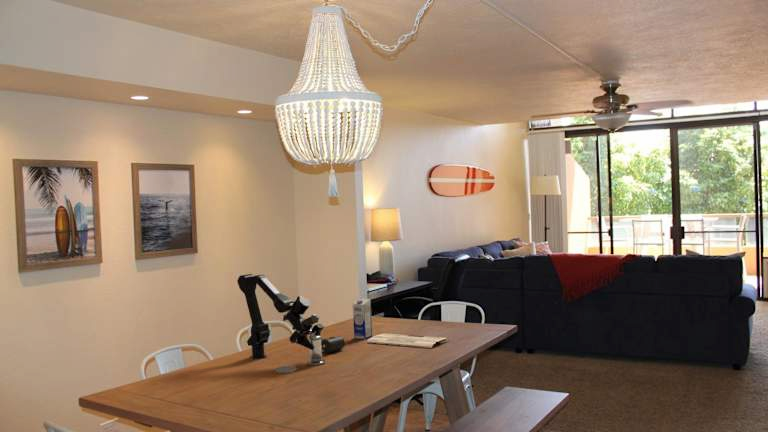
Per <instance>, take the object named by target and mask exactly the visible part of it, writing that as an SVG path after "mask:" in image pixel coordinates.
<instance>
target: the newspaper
mask: <svg viewBox="0 0 768 432" xmlns="http://www.w3.org/2000/svg"><path fill="white" fill-rule="evenodd" d="M366 340H367V341H366V343H367V344H374V343H376V345H377V344H378V345H386V344H388V346H389V345H390V346H398V345H400V346H399V347H410V346H411V347H413V348H424V349H425V348H426V349H433V348H432V347H433V346H434V345H435V344H437V343H436V342H438V344H445V343H447V342H448V343H449V340H450V338H449V337H441V336H439V337H438V336H426V335H414V334H413V335H408V334H396V333H380V334H377V335H374V336H372V337H371V338H368V339H366ZM439 342H440V343H439Z"/></svg>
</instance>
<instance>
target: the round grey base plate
mask: <svg viewBox="0 0 768 432" xmlns="http://www.w3.org/2000/svg"><path fill="white" fill-rule="evenodd" d="M325 364H326V360H325V359H322V357H320V358H311V357H310V360H308V361H307V364H306V365H308V366H316V367H317V366H323V365H325Z"/></svg>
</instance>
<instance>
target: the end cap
mask: <svg viewBox="0 0 768 432" xmlns="http://www.w3.org/2000/svg"><path fill="white" fill-rule="evenodd" d="M322 341H323V344H324V346H323V347H322V354H332V353H334V352H335V353H336V352H338V351H342V350H343V349H344V348H345V345H346V341H345V338H343V337H342V336H341V335H339V336H331V337H329V338H328V339H327V338H324V339H322Z"/></svg>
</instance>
